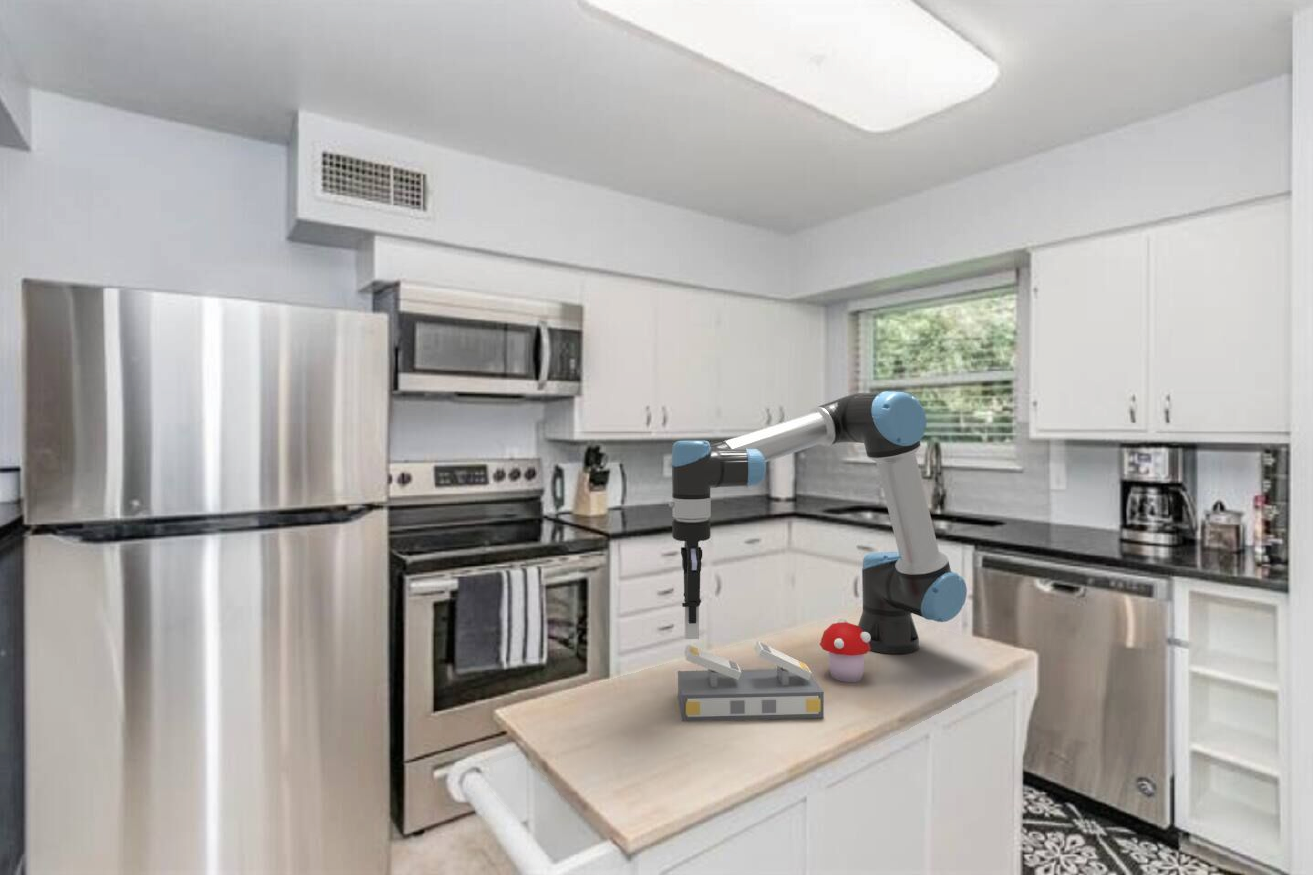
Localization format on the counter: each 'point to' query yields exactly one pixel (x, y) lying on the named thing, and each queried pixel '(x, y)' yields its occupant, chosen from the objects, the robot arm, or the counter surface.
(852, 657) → the mushroom
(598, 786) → the counter surface
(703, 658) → the rocker
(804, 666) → the rocker
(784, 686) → the switch unit
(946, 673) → the counter surface
